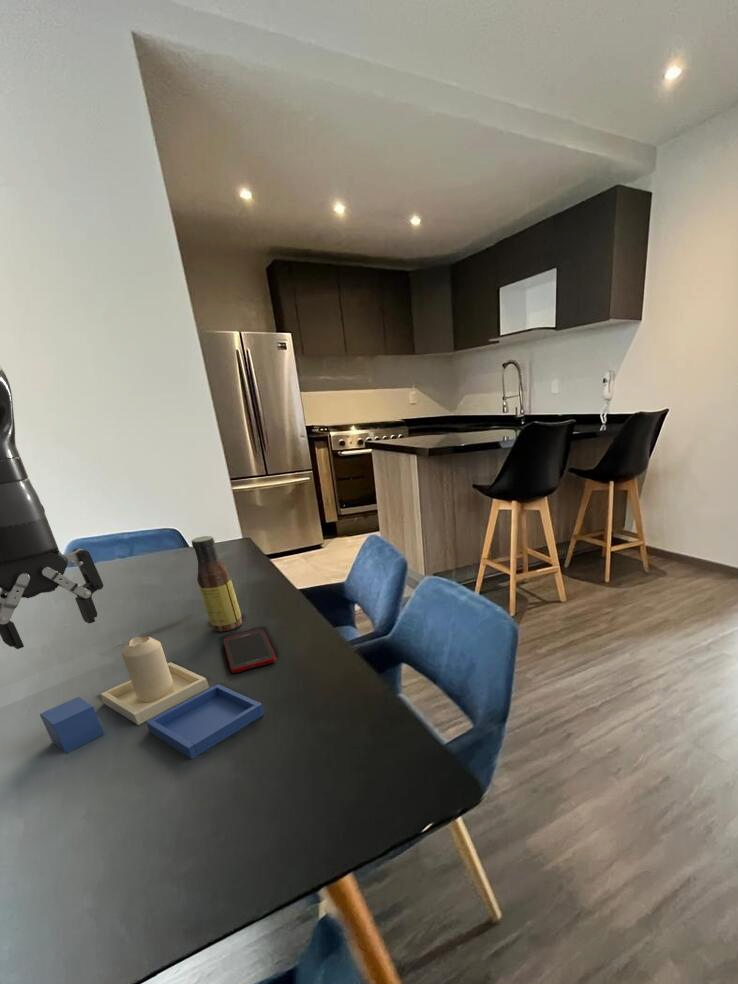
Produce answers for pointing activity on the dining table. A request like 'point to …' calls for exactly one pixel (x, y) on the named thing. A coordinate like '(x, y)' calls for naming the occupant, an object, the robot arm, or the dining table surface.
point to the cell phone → (248, 651)
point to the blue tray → (204, 720)
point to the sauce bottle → (216, 586)
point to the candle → (148, 669)
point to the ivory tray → (140, 712)
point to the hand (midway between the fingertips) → (55, 633)
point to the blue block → (72, 724)
